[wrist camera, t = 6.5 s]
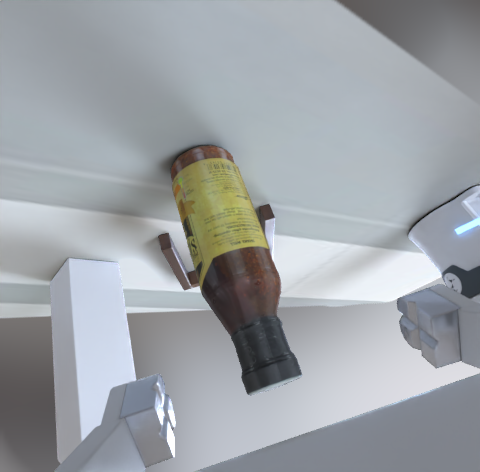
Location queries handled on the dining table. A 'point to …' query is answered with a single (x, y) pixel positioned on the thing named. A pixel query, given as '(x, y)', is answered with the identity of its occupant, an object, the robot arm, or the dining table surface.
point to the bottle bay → (191, 278)
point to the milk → (87, 346)
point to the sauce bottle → (234, 264)
